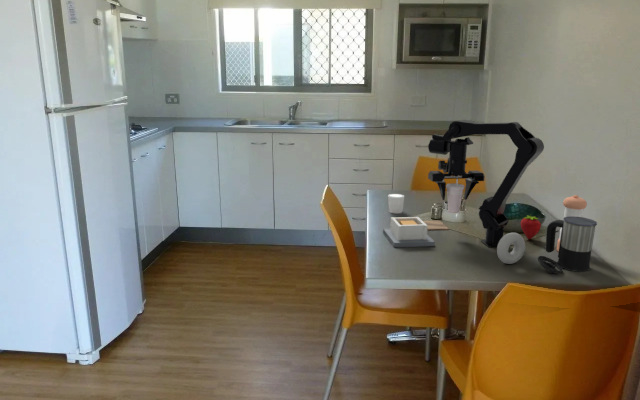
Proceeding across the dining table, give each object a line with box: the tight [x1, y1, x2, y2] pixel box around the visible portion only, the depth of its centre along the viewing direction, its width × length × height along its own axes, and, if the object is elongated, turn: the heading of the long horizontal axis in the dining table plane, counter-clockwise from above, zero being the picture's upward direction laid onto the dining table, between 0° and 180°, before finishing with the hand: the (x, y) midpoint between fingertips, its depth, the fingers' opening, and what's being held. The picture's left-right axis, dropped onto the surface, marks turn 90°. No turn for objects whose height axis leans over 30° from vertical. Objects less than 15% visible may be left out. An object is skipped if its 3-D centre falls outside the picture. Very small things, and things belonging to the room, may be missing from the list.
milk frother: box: [537, 216, 598, 274], centre depth 159 cm, size 14×16×15 cm
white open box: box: [382, 216, 436, 248], centre depth 185 cm, size 16×14×6 cm
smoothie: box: [446, 179, 465, 214], centre depth 188 cm, size 6×6×14 cm
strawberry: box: [520, 215, 542, 240], centre depth 186 cm, size 6×8×10 cm
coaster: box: [422, 219, 450, 231], centre depth 202 cm, size 11×11×1 cm
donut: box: [496, 232, 526, 265], centre depth 163 cm, size 10×4×10 cm, turn 113°
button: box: [400, 221, 418, 225], centre depth 185 cm, size 5×5×2 cm
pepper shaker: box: [556, 194, 588, 253], centre depth 173 cm, size 7×7×19 cm
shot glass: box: [387, 193, 405, 214], centre depth 220 cm, size 7×7×7 cm
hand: (454, 199), depth 188 cm, fingers closed on smoothie, 8 cm apart
